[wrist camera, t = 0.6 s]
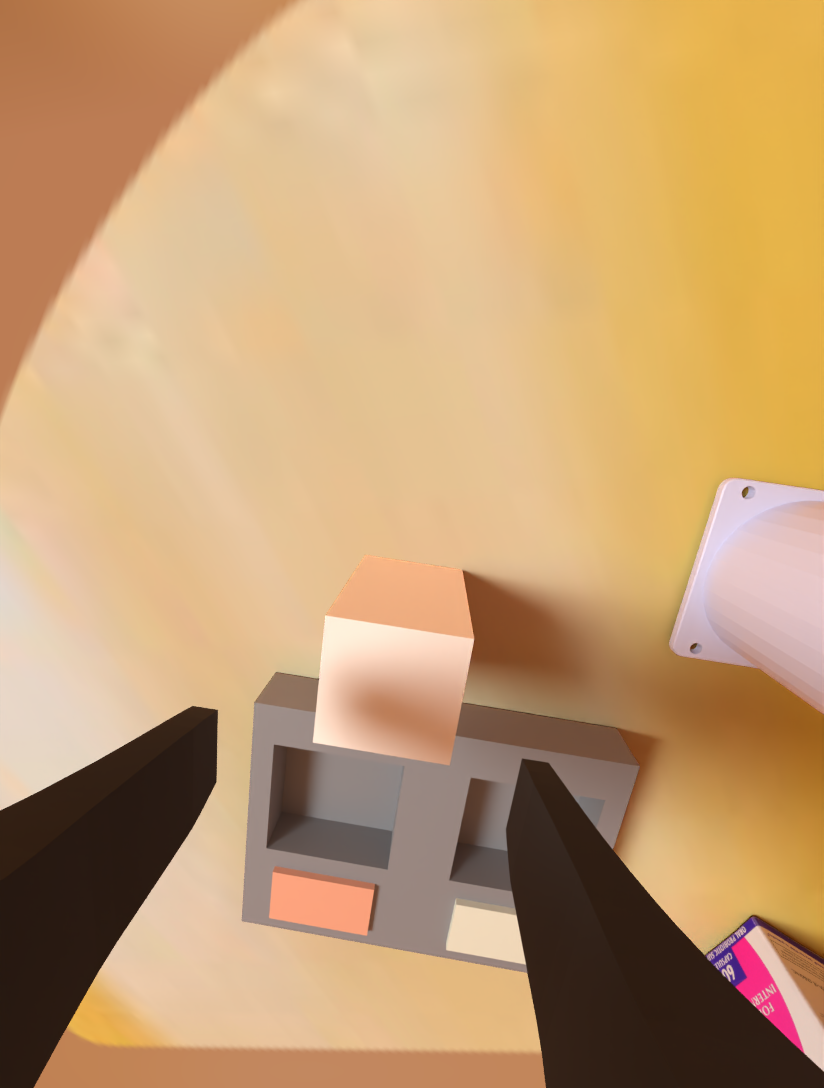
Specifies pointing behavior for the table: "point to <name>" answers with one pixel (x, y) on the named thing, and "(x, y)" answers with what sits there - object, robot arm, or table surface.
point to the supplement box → (777, 982)
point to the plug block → (395, 661)
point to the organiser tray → (408, 826)
